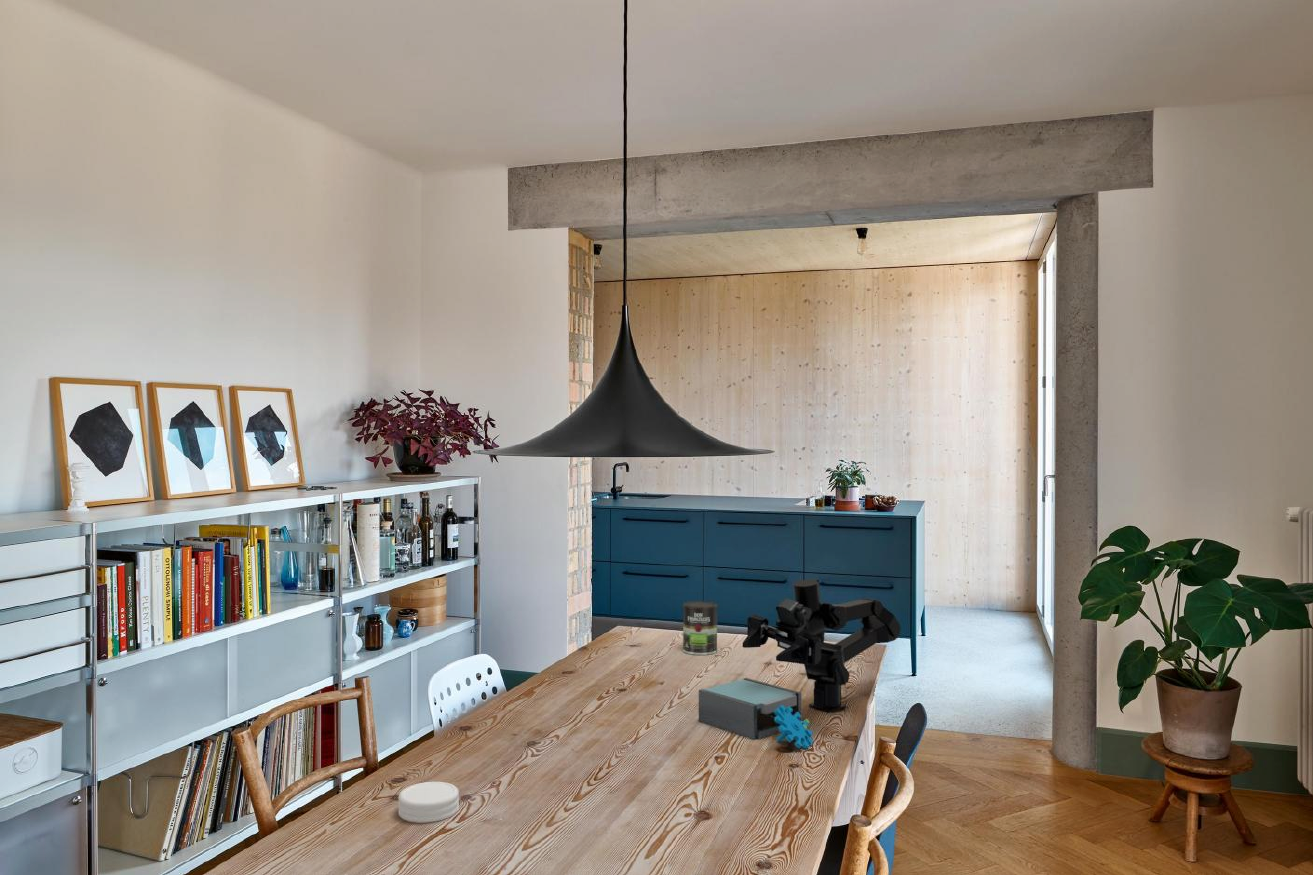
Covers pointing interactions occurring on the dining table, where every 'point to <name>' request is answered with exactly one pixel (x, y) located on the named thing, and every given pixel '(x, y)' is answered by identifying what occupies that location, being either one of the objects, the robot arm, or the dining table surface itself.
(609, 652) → the dining table surface
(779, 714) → the gear
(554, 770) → the dining table surface
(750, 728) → the grey drawer box
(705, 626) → the coffee can
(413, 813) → the coaster
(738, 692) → the sliding box lid
